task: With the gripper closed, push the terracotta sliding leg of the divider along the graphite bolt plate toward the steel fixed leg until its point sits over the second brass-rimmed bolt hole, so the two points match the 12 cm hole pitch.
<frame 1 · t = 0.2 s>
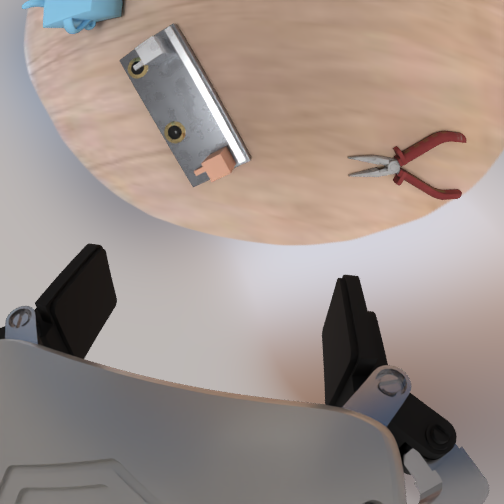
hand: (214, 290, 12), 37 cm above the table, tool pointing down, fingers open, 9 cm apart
pliers: (414, 154, 42), on the table
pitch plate: (185, 104, 42), on the table
sliding leg: (209, 168, 43), point 4 cm above the table, slide at 0.0 cm
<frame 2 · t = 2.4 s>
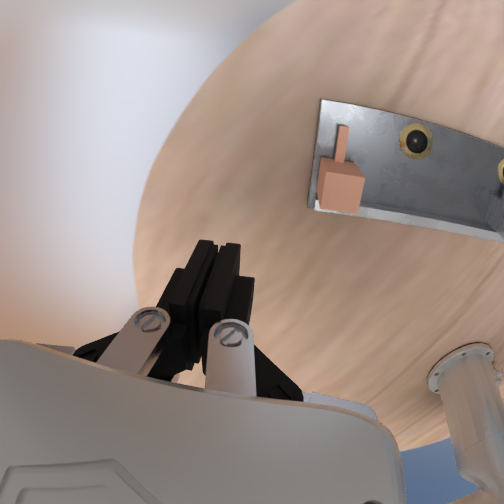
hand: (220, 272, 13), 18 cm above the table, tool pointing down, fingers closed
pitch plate: (430, 173, 26), on the table
sliding leg: (341, 165, 24), point 4 cm above the table, slide at 0.0 cm
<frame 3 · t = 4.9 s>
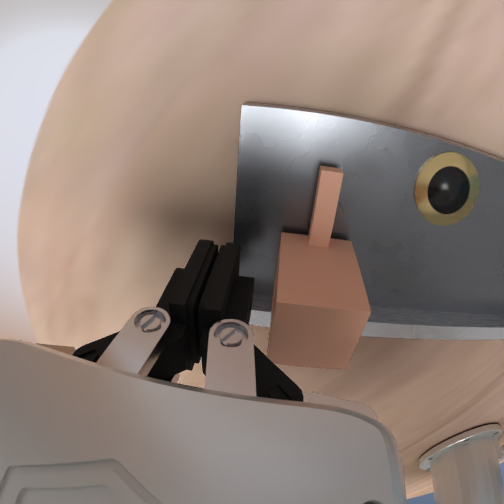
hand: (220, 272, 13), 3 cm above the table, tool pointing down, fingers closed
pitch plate: (463, 241, 14), on the table
sliding leg: (321, 265, 11), point 4 cm above the table, slide at 1.5 cm, touching gripper
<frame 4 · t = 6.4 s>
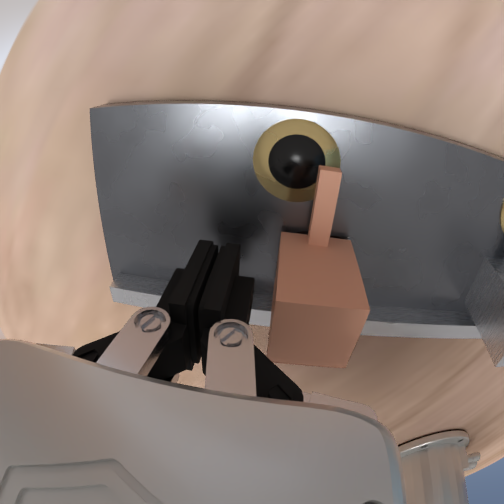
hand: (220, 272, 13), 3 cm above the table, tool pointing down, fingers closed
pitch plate: (350, 222, 14), on the table
sliding leg: (320, 264, 11), point 4 cm above the table, slide at 8.2 cm, touching gripper
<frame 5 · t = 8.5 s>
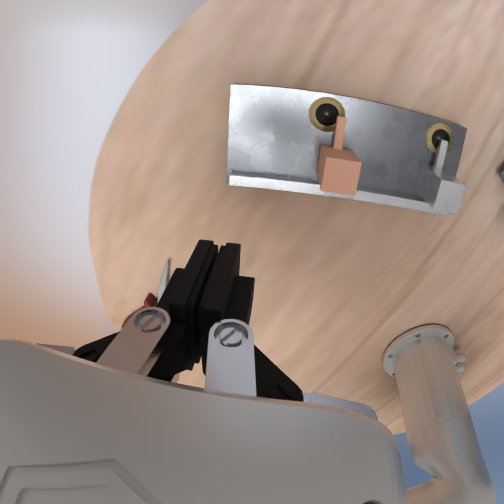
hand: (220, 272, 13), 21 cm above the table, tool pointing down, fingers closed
pliers: (172, 317, 46), on the table
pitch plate: (350, 146, 29), on the table
sliding leg: (340, 152, 26), point 4 cm above the table, slide at 8.3 cm
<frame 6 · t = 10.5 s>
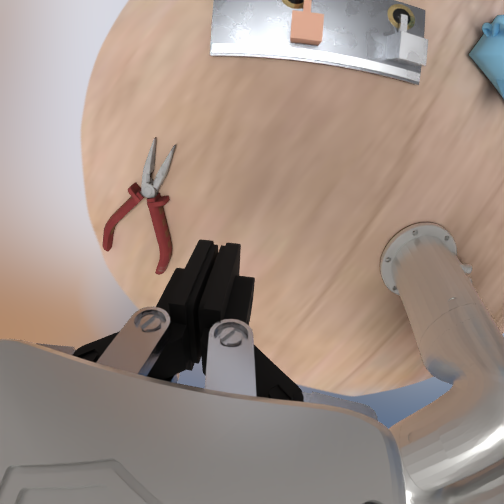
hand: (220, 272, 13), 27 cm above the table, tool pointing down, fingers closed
pliers: (156, 213, 44), on the table
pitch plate: (320, 24, 27), on the table
sliding leg: (307, 15, 24), point 4 cm above the table, slide at 8.3 cm
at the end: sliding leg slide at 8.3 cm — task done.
